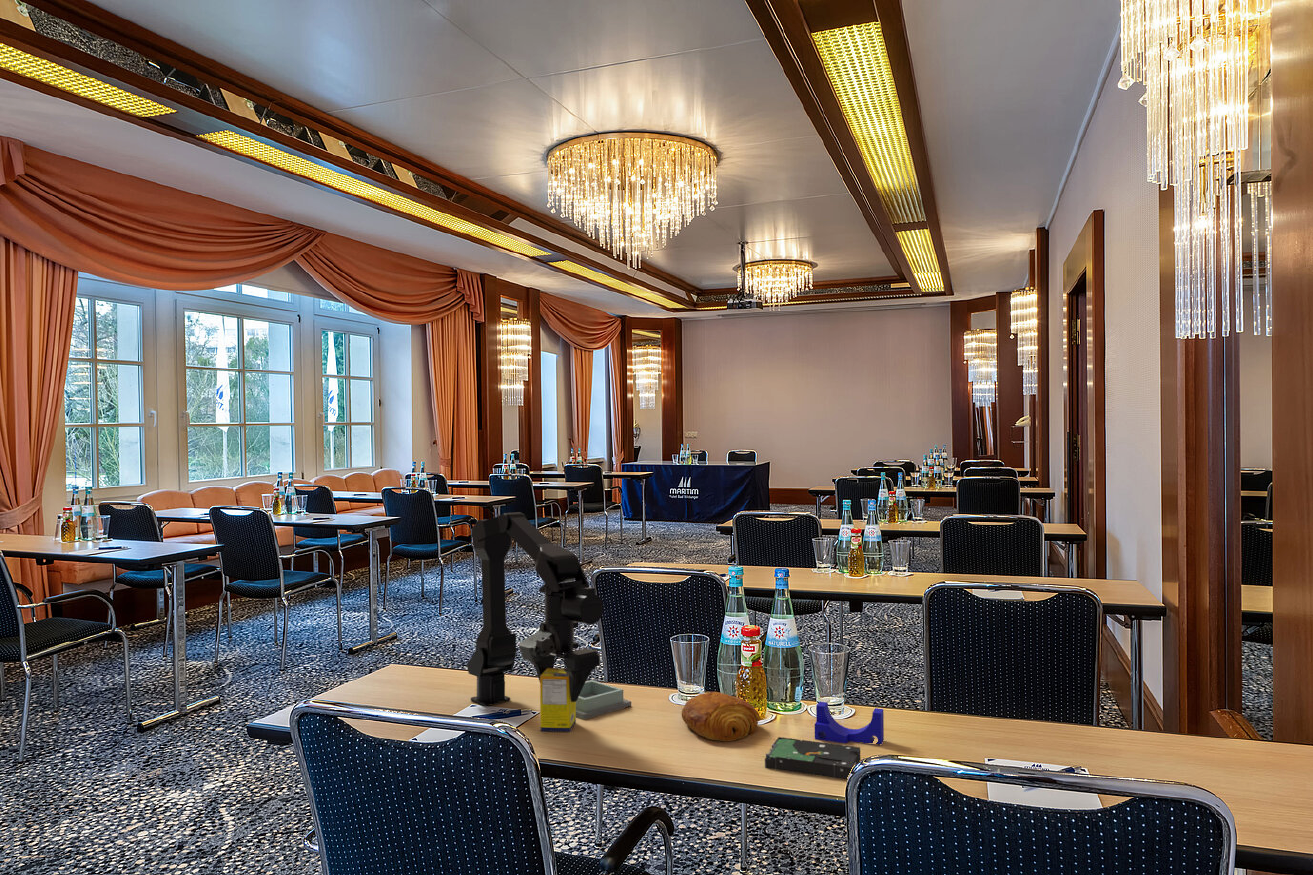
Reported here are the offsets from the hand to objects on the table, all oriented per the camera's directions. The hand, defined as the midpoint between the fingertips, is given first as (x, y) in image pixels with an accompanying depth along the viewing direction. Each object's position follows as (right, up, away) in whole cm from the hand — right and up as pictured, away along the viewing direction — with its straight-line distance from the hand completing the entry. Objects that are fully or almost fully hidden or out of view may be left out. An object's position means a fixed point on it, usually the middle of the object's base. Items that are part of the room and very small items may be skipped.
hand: (559, 696), depth 160 cm
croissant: (+32, -6, -2) cm, 32 cm away
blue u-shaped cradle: (+55, -6, -8) cm, 56 cm away
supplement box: (0, -6, 0) cm, 6 cm away
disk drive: (+46, -6, -20) cm, 51 cm away
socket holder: (+5, -6, +14) cm, 16 cm away
